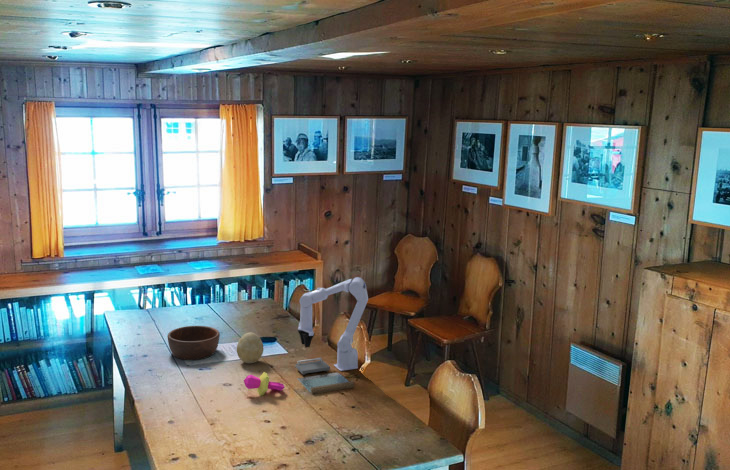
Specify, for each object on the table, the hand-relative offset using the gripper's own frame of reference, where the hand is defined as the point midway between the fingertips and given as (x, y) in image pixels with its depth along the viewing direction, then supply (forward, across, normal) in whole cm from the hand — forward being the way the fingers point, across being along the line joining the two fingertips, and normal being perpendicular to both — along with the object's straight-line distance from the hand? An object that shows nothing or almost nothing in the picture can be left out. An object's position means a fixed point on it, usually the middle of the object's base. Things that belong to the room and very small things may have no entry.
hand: (305, 345), depth 326 cm
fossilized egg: (+10, -12, -24) cm, 28 cm away
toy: (+10, +25, -29) cm, 39 cm away
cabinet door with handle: (+9, +10, 0) cm, 13 cm away
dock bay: (+10, +24, 0) cm, 26 cm away
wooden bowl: (+10, -34, -46) cm, 58 cm away
